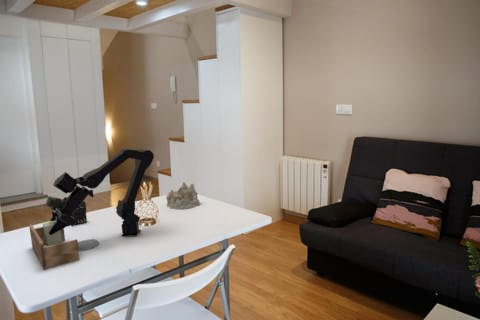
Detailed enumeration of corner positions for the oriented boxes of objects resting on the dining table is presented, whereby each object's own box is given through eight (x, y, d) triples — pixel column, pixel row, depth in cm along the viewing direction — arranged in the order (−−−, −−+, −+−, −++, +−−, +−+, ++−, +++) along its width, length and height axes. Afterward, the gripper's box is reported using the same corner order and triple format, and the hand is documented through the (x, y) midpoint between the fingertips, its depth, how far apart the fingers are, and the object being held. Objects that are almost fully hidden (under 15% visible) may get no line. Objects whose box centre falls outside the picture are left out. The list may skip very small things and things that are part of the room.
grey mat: (102, 240, 159) (102, 239, 159) (93, 250, 149) (92, 249, 149) (80, 240, 159) (79, 239, 159) (68, 250, 149) (68, 249, 149)
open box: (64, 239, 160) (62, 218, 159) (79, 259, 141) (76, 234, 139) (32, 247, 153) (29, 224, 151) (43, 269, 133) (40, 243, 132)
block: (59, 243, 150) (56, 220, 148) (62, 247, 146) (59, 223, 144) (46, 246, 147) (42, 223, 145) (48, 251, 143) (45, 226, 141)
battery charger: (73, 226, 177) (70, 203, 175) (71, 224, 180) (69, 201, 178) (88, 223, 181) (86, 200, 179) (86, 220, 184) (84, 198, 182)
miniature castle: (204, 204, 206) (200, 178, 204) (181, 212, 195) (177, 185, 192) (186, 200, 217) (183, 175, 215) (163, 208, 205) (160, 182, 203)
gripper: (53, 184, 152) (26, 215, 147) (63, 193, 137) (34, 228, 133) (75, 198, 158) (50, 229, 153) (87, 209, 143) (60, 243, 139)
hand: (48, 232), depth 144 cm, fingers closed on block, 5 cm apart
